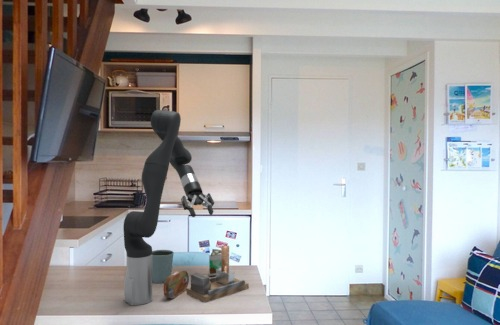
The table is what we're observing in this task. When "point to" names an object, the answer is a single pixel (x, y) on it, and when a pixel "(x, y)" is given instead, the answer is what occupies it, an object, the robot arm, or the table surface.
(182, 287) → the tin
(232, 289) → the railed wooden base
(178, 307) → the table surface
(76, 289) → the table surface
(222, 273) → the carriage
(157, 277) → the teal cup
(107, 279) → the table surface
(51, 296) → the table surface
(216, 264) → the food container
